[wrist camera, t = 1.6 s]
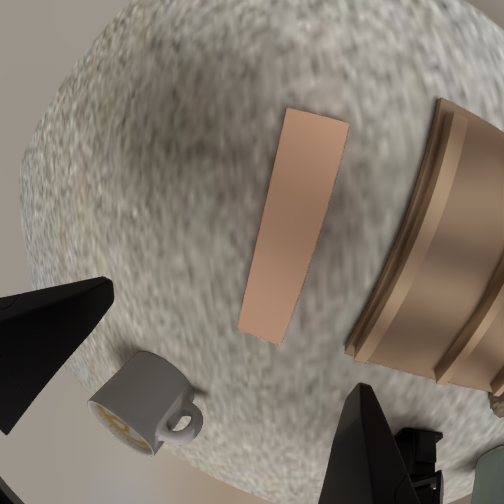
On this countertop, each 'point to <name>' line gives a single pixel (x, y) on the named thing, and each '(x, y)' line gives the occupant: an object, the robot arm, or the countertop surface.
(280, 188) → the clay strip
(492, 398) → the brown rock
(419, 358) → the rack
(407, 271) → the rack rail
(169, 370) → the coffee mug
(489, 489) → the disposable coffee cup
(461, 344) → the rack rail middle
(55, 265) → the countertop surface
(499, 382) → the rack rail
